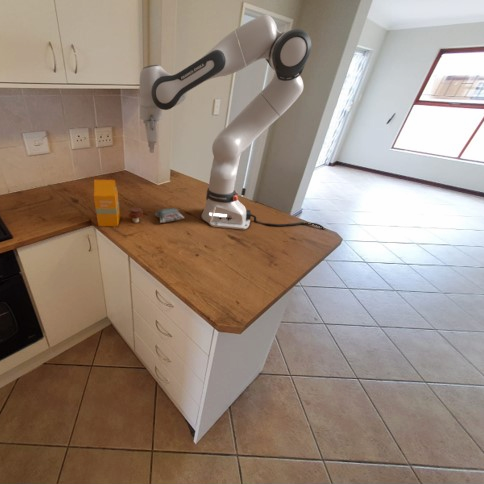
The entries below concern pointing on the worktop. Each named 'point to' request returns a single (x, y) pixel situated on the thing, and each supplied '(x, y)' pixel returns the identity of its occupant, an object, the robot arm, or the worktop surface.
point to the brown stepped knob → (135, 214)
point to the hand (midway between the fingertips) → (151, 149)
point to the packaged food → (169, 215)
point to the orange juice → (106, 202)
